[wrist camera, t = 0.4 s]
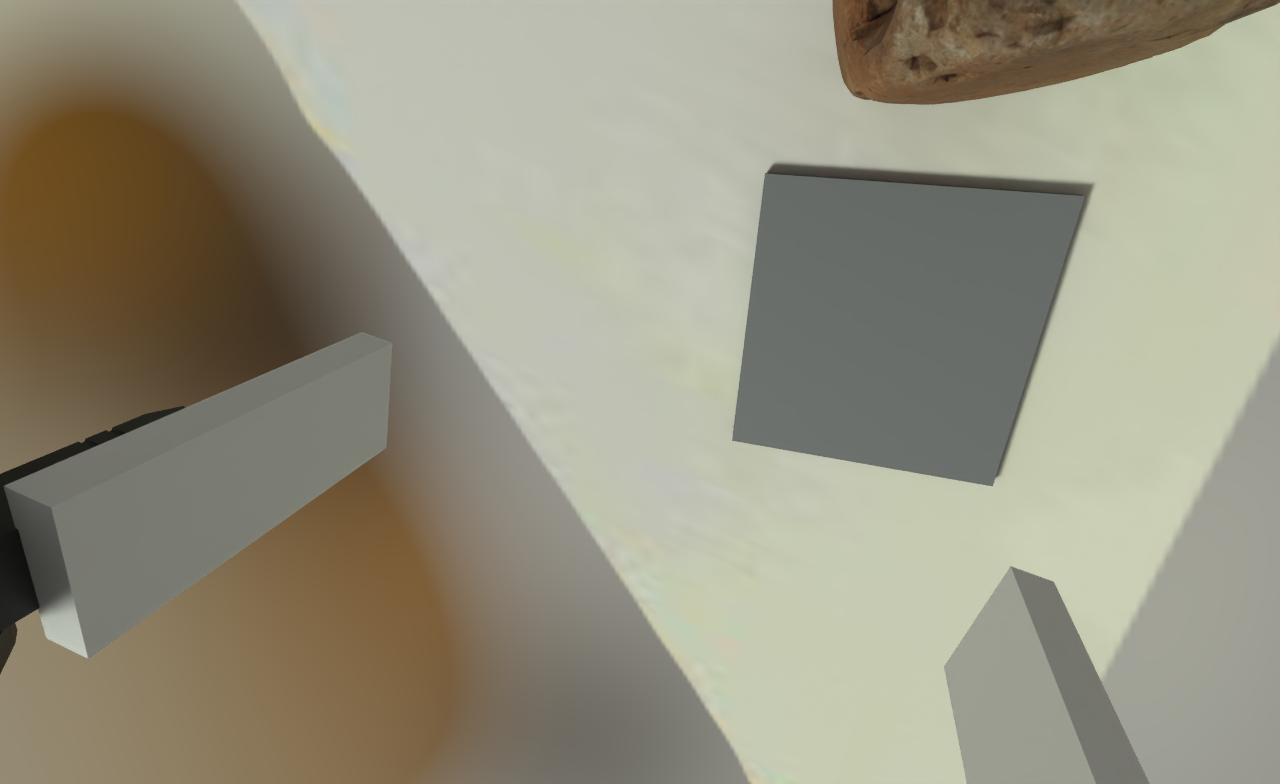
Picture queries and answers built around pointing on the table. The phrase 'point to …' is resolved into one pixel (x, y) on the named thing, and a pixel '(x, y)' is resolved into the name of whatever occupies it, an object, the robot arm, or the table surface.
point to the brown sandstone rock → (1008, 42)
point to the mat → (897, 319)
